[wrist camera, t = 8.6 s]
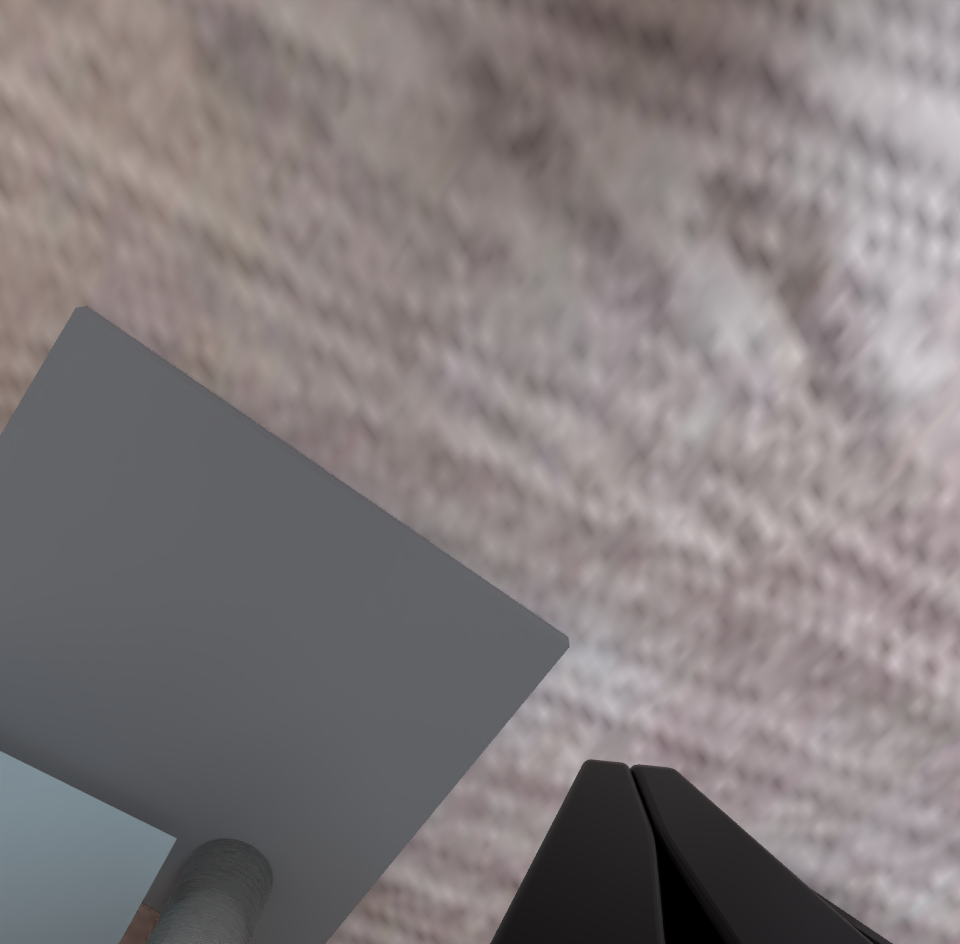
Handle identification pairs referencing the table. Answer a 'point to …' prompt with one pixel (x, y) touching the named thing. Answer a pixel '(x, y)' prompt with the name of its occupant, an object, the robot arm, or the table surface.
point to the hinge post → (216, 896)
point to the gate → (69, 861)
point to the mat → (235, 633)
